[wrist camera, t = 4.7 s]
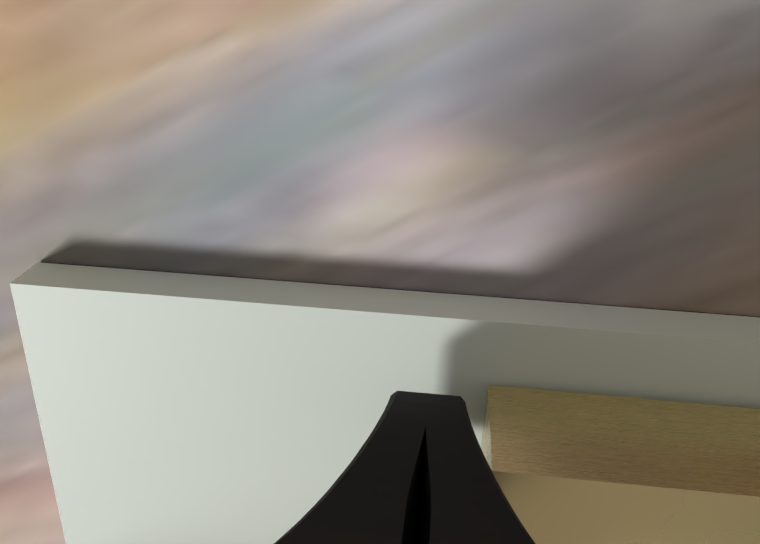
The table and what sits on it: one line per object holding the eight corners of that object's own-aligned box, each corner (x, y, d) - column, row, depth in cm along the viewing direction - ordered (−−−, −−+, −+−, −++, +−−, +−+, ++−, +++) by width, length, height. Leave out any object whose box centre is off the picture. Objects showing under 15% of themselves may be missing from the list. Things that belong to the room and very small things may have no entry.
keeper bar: (480, 448, 14) (483, 541, 12) (487, 385, 13) (492, 470, 11) (908, 488, 13) (994, 595, 11) (938, 424, 13) (1035, 523, 11)
